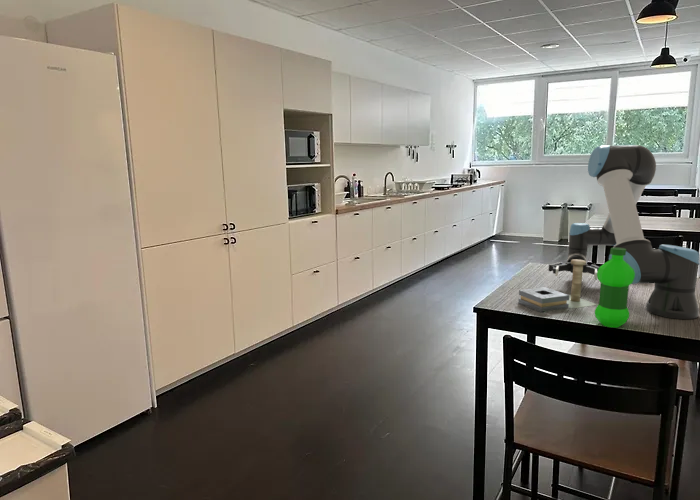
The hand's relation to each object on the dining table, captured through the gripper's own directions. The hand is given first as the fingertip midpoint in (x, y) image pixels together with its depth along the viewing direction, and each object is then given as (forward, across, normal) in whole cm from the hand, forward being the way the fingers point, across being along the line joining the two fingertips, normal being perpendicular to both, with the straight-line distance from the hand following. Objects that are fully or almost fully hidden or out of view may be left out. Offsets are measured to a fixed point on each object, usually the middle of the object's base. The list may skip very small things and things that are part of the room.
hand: (576, 274), depth 184 cm
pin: (+5, 0, -9) cm, 10 cm away
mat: (+6, +1, -9) cm, 11 cm away
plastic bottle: (+28, -11, -10) cm, 32 cm away
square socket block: (+16, +10, -9) cm, 21 cm away
